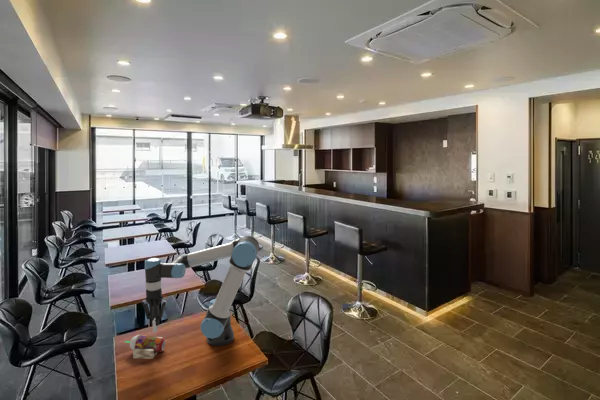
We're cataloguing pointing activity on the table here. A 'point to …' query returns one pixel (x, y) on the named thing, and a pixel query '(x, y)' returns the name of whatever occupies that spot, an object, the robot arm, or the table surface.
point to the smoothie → (147, 343)
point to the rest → (144, 353)
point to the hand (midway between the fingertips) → (155, 331)
